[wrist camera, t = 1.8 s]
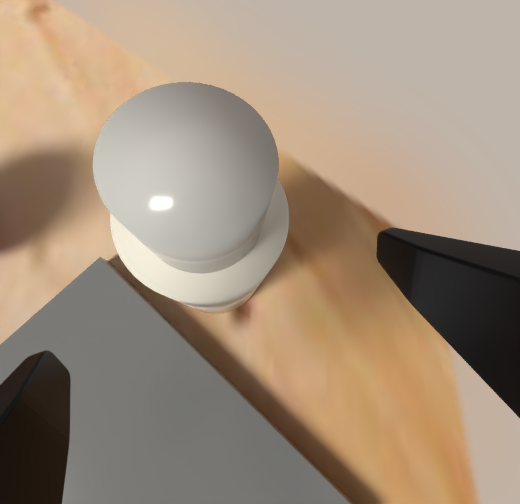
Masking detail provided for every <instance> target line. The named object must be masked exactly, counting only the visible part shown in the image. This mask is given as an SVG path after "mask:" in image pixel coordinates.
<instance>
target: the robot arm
mask: <svg viewBox="0 0 520 504" xmlns="http://www.w3.org/2000/svg"><path fill="white" fill-rule="evenodd" d="M377 259H378V262H379V263H380V265H381V266H382V267H383V269H384V270H385V271H386V273H387V274H388V275H389V276H390V278H391V279H392V280H393V282H394V283H395V284H396V286H397V287H398V288H399V289H400V291H401V292H402V293H403V295H404V296H405V297H406V298H407V299H408V301H409V302H410V303H411V304H412V305H413V306H414V307H415V309H416V310H417V311H418V312H419V313H420V314H421V315H422V316H423V317H424V318H425V319H426V320H427V321H428V322H429V323H430V324H431V325H432V326H433V327H434V329H435V330H436V331H437V332H438V333H439V334H440V335H441V336H442V337H443V338H444V339H445V340H446V341H447V342H448V343H449V344H450V345H451V346H452V347H453V348H454V350H455V351H456V352H457V353H458V354H459V355H460V356H461V357H462V358H463V359H464V360H465V361H466V362H467V363H468V364H469V365H470V366H471V367H472V368H473V370H474V371H475V372H476V373H477V374H478V375H479V376H480V377H481V378H482V379H483V380H484V381H485V382H486V383H487V384H488V385H489V386H490V387H491V388H492V389H493V391H494V392H496V394H497V395H498V396H499V397H500V398H501V399H502V400H503V401H504V402H505V403H506V404H507V405H508V406H509V407H510V408H511V409H512V410H513V412H514V413H515V414H516V415H517V416H518V417H519V418H520V251H517V250H511V249H506V248H500V247H495V246H490V245H484V244H479V243H473V242H468V241H462V240H457V239H452V238H446V237H441V236H436V235H430V234H425V233H420V232H414V231H408V230H403V229H398V228H389V229H386V230H383V231H381V232H380V233H379V234H378V237H377ZM70 389H71V378H70V373H69V371H68V369H67V368H66V367H65V366H64V365H63V364H62V362H61V361H60V360H59V359H58V358H57V357H56V356H55V355H54V354H53V353H52V352H51V351H49V350H44V351H41V352H38V353H36V354H33V355H30V356H28V357H27V358H26V359H25V360H24V361H23V362H22V363H21V364H20V365H19V366H18V367H17V368H16V369H15V370H14V371H13V372H12V373H11V374H10V375H9V376H8V377H7V378H6V379H5V380H4V381H3V382H2V383H1V385H0V504H62V499H63V491H64V483H65V475H66V467H67V459H68V451H69V441H70Z"/></svg>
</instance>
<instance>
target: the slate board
mask: <svg viewBox="0 0 520 504" xmlns="http://www.w3.org/2000/svg"><path fill="white" fill-rule="evenodd" d="M44 350H49V351H51V352H52V353H53V354H54V355H55V356H56V357H57V358H58V359H59V360H60V361H61V362H62V364H63V365H64V366H65V367H66V368H67V369H68V371H69V373H70V378H71V389H70V441H69V451H68V459H67V467H66V475H65V483H64V491H63V499H62V504H354V503H353V502H352V501H351V500H350V499H349V498H348V497H347V496H346V495H345V494H344V493H343V492H342V491H341V490H340V489H339V488H338V487H337V486H336V485H335V484H334V483H333V482H332V481H331V480H330V479H329V478H328V477H327V476H325V475H324V474H323V473H322V472H321V471H320V470H319V469H318V468H317V467H316V466H315V465H314V464H313V463H312V462H311V461H310V460H309V459H308V458H307V457H306V456H305V455H304V454H303V453H302V452H301V451H300V450H299V449H298V448H297V447H296V446H295V445H294V444H293V443H292V442H291V441H290V440H289V439H288V438H287V437H286V436H285V435H284V434H283V433H282V432H281V431H280V430H279V429H278V428H277V427H276V426H275V425H274V424H273V423H272V422H271V421H270V420H269V419H268V418H267V417H266V416H265V415H264V414H263V413H262V412H261V411H260V410H259V409H257V408H256V407H255V406H254V405H253V404H252V403H251V402H250V401H249V400H248V399H247V398H246V397H245V396H244V395H243V394H242V393H241V392H240V391H239V390H238V389H237V388H236V387H235V386H234V385H233V384H232V383H231V382H230V381H229V380H228V379H227V378H226V377H225V376H224V375H223V374H222V373H221V372H220V371H219V370H218V369H217V368H216V367H215V366H214V365H213V364H212V363H211V362H210V361H209V360H208V359H207V358H206V357H205V356H204V355H203V354H202V353H201V352H200V351H199V350H198V349H197V348H196V347H195V346H194V345H193V344H192V343H190V342H189V341H188V340H187V339H186V338H185V337H184V336H183V335H182V334H181V333H180V332H179V331H178V330H177V329H176V328H175V327H174V326H173V325H172V324H171V323H170V322H169V321H168V320H167V319H166V318H165V317H164V316H163V315H162V314H161V313H160V312H159V311H158V310H157V309H156V308H155V307H154V306H153V305H152V304H151V303H150V302H149V301H148V300H147V299H146V298H145V297H144V296H143V295H142V294H141V293H140V292H139V291H138V290H137V289H136V288H135V287H134V286H133V285H132V284H131V283H130V282H129V281H128V280H127V279H126V278H125V277H124V276H122V275H121V274H120V273H119V272H118V271H117V270H116V269H115V268H114V267H113V266H112V265H111V264H110V263H109V262H108V261H107V260H105V259H103V258H101V257H100V258H98V259H97V260H96V261H95V262H94V263H93V264H92V265H91V266H89V267H88V268H87V269H86V270H85V271H84V272H83V273H81V274H80V275H79V276H78V277H77V278H76V279H75V280H74V281H72V282H71V283H70V284H69V285H68V286H67V287H66V288H64V289H63V290H62V291H61V292H60V293H59V294H58V295H56V296H55V297H54V298H53V299H52V300H51V301H50V302H49V303H47V304H46V305H45V306H44V307H43V308H42V309H41V310H39V311H38V312H37V313H36V314H35V315H34V316H33V317H32V318H30V319H29V320H28V321H27V322H26V323H25V324H24V325H22V326H21V327H20V328H19V329H18V330H17V331H16V332H14V333H13V334H12V335H11V336H10V337H9V338H8V339H7V340H5V341H4V342H3V343H2V344H1V345H0V385H1V383H2V382H3V381H4V380H5V379H6V378H7V377H8V376H9V375H10V374H11V373H12V372H13V371H14V370H15V369H16V368H17V367H18V366H19V365H20V364H21V363H22V362H23V361H24V360H25V359H26V358H27V357H28V356H30V355H33V354H36V353H38V352H41V351H44Z"/></svg>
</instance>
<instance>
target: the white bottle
mask: <svg viewBox="0 0 520 504" xmlns="http://www.w3.org/2000/svg"><path fill="white" fill-rule="evenodd" d="M278 167H279V159H278V152H277V147H276V144H275V140H274V138H273V135H272V133H271V131H270V129H269V127H268V126H267V124H266V123H265V121H264V120H263V118H262V117H261V116H260V115H259V114H258V113H257V111H256V110H255V109H254V108H253V107H252V106H251V105H249V104H248V103H247V102H245V101H244V100H243V99H241V98H239V97H238V96H236V95H234V94H233V93H230V92H228V91H226V90H224V89H221V88H218V87H215V86H212V85H207V84H202V83H191V82H178V83H170V84H165V85H160V86H156V87H153V88H151V89H148V90H145V91H143V92H141V93H139V94H137V95H135V96H134V97H132V98H131V99H129V100H127V101H126V102H125V103H124V104H122V105H121V106H120V107H119V108H118V109H117V110H116V111H115V112H114V113H113V114H112V115H111V116H110V117H109V119H108V120H107V122H106V123H105V125H104V126H103V128H102V130H101V132H100V134H99V136H98V139H97V142H96V145H95V149H94V155H93V174H94V181H95V184H96V187H97V191H98V193H99V195H100V197H101V199H102V201H103V203H104V204H105V206H106V207H107V209H108V210H109V212H110V213H111V222H110V225H111V232H112V238H113V241H114V245H115V248H116V250H117V252H118V254H119V256H120V258H121V260H122V261H123V263H124V264H125V266H126V267H127V269H128V270H129V271H130V272H131V273H132V274H133V275H134V277H136V278H137V279H138V280H139V281H140V282H141V283H143V284H144V285H145V286H147V287H148V288H150V289H152V290H153V291H155V292H157V293H159V294H162V295H164V296H166V297H168V298H171V299H173V300H175V301H178V302H180V303H182V304H185V305H187V306H190V307H192V308H194V309H197V310H199V311H202V312H205V313H211V314H220V313H226V312H230V311H232V310H235V309H237V308H238V307H240V306H241V305H243V304H244V303H245V302H246V301H247V300H248V299H249V298H250V297H251V296H252V294H253V293H254V292H255V290H256V289H257V288H258V286H259V285H260V283H261V282H262V281H263V279H264V278H265V277H266V275H267V274H268V272H269V271H270V270H271V268H272V267H273V266H274V264H275V263H276V261H277V259H278V258H279V256H280V254H281V252H282V250H283V248H284V245H285V242H286V238H287V235H288V229H289V208H288V201H287V198H286V194H285V191H284V189H283V187H282V184H281V182H280V180H279V179H278Z"/></svg>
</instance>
